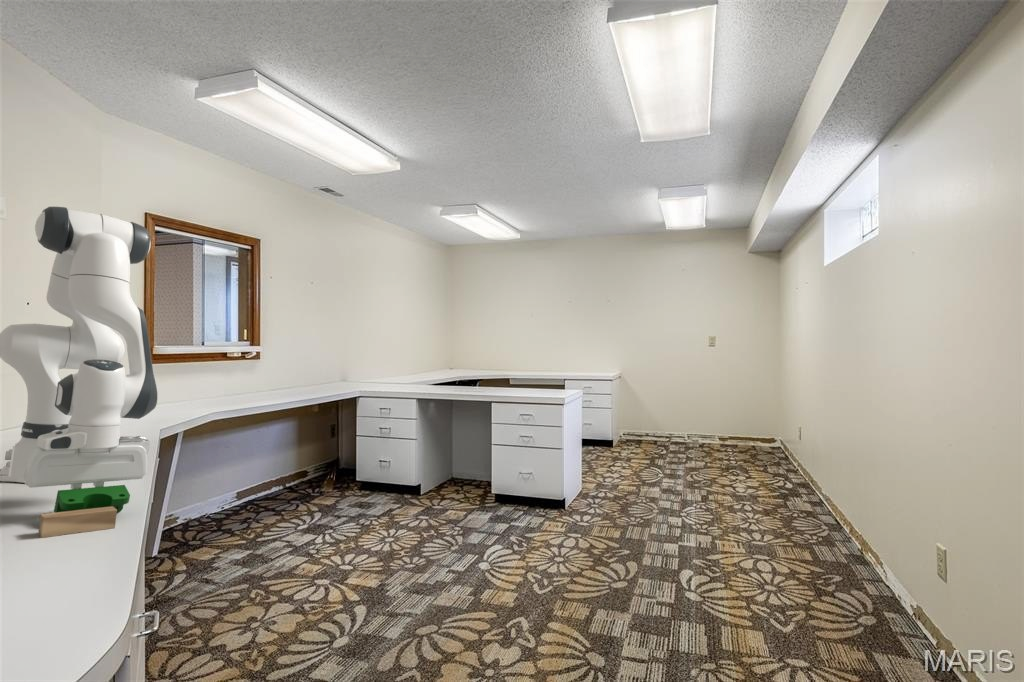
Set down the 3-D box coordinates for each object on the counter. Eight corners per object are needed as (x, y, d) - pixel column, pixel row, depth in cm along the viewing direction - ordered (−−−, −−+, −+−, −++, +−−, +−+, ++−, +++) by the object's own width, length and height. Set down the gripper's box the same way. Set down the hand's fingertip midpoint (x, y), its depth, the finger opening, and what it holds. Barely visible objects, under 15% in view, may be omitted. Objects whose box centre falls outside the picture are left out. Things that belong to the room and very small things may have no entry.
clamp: (67, 545, 105) (51, 509, 102) (62, 530, 109) (46, 494, 105) (137, 515, 113) (125, 480, 109) (130, 502, 117) (118, 468, 113)
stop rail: (38, 533, 99) (40, 513, 99) (110, 523, 107) (112, 506, 107) (41, 537, 97) (44, 518, 97) (114, 527, 105) (117, 509, 105)
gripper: (146, 433, 122) (138, 495, 121) (27, 436, 107) (17, 507, 106) (155, 437, 118) (147, 501, 117) (33, 441, 103) (22, 514, 102)
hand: (84, 504), depth 111 cm, fingers closed, pressing on clamp
